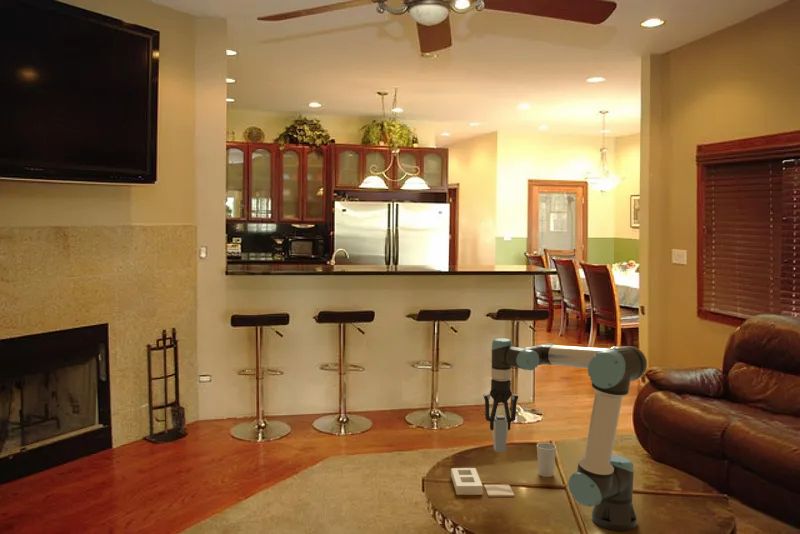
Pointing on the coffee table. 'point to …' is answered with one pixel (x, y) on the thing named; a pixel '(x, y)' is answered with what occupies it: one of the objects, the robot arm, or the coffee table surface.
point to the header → (466, 481)
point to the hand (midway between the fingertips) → (499, 437)
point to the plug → (500, 434)
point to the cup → (546, 459)
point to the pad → (499, 491)
